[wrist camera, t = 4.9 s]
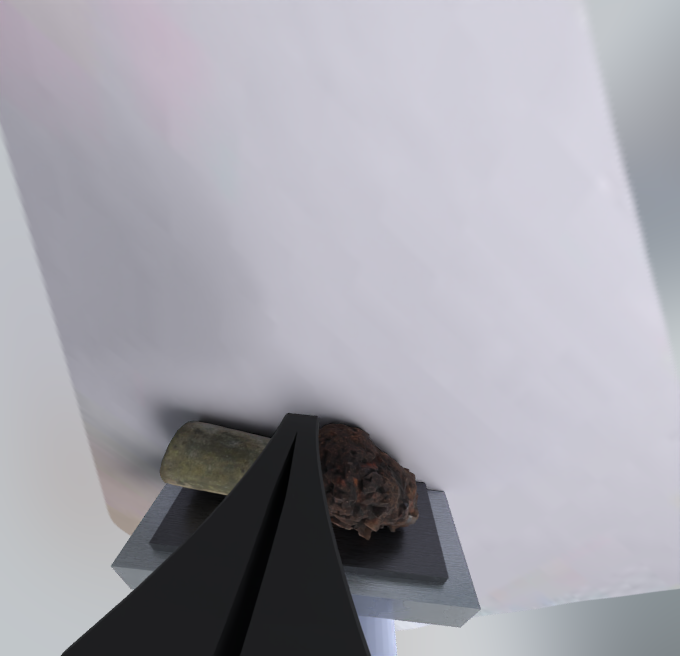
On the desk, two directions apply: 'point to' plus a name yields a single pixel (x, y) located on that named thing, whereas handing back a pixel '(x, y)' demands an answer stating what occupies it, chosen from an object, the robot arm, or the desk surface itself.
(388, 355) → the desk surface
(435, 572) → the grey metal tray
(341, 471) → the corroded crusty cylinder
